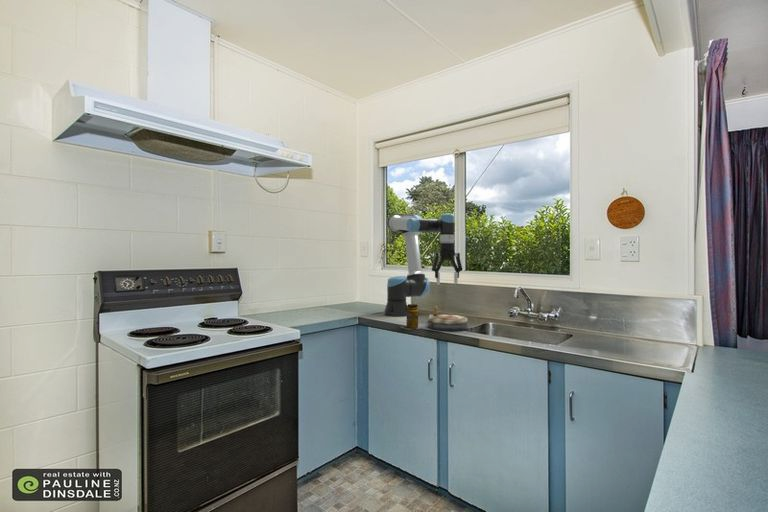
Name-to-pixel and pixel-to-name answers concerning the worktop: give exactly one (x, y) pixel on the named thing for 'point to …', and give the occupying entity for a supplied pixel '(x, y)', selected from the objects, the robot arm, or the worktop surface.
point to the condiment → (412, 317)
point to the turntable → (446, 318)
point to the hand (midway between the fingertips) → (447, 284)
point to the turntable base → (447, 326)
